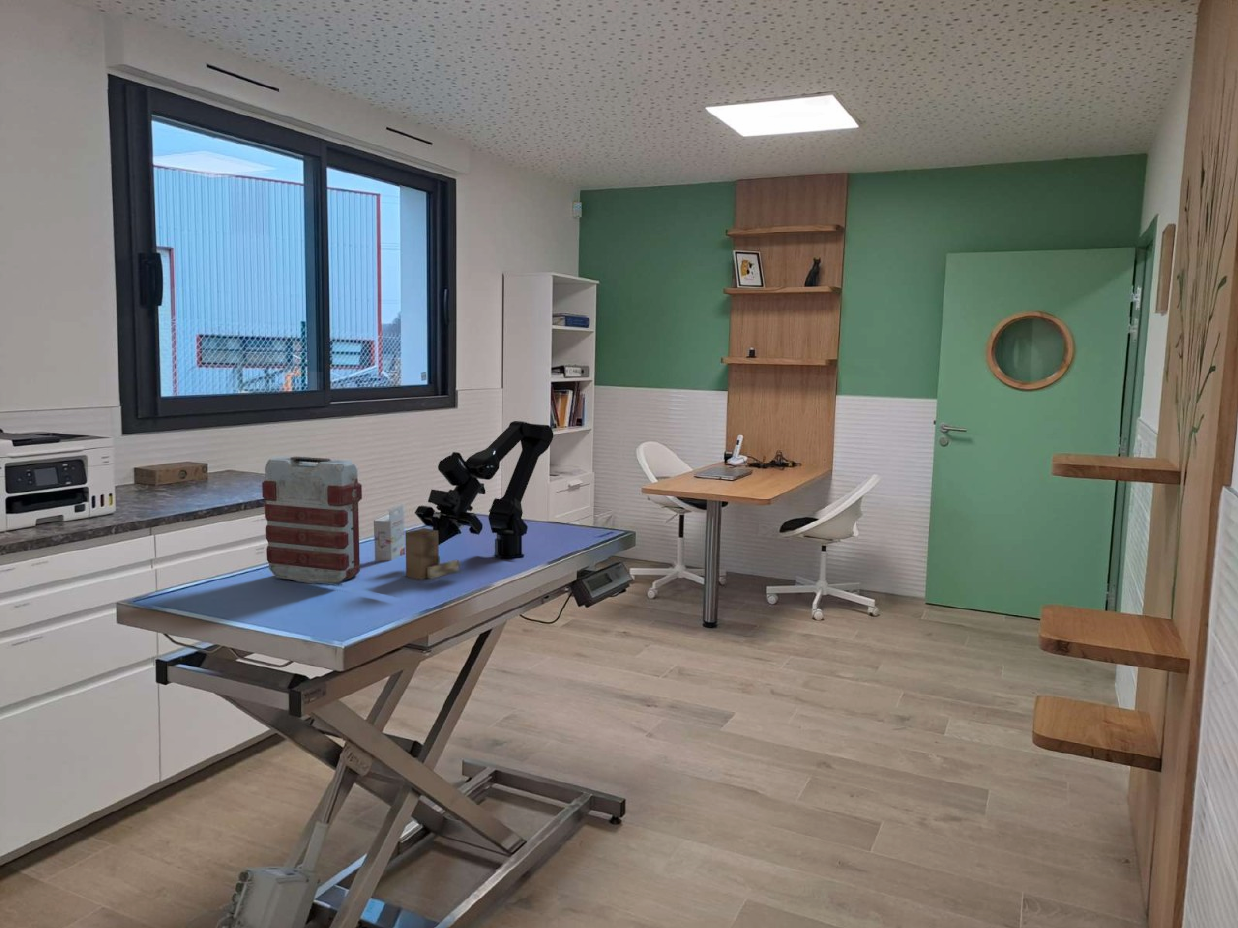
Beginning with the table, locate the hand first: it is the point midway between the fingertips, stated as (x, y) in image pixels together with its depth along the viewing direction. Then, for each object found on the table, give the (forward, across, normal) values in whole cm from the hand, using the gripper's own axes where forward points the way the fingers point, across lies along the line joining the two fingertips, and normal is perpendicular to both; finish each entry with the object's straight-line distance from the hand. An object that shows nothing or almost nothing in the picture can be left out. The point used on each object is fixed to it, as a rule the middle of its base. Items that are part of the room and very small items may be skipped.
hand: (431, 547), depth 222 cm
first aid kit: (+18, -22, -7) cm, 29 cm away
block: (+7, 0, +2) cm, 7 cm away
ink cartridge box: (+1, -22, +10) cm, 24 cm away
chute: (+6, 0, +5) cm, 8 cm away
